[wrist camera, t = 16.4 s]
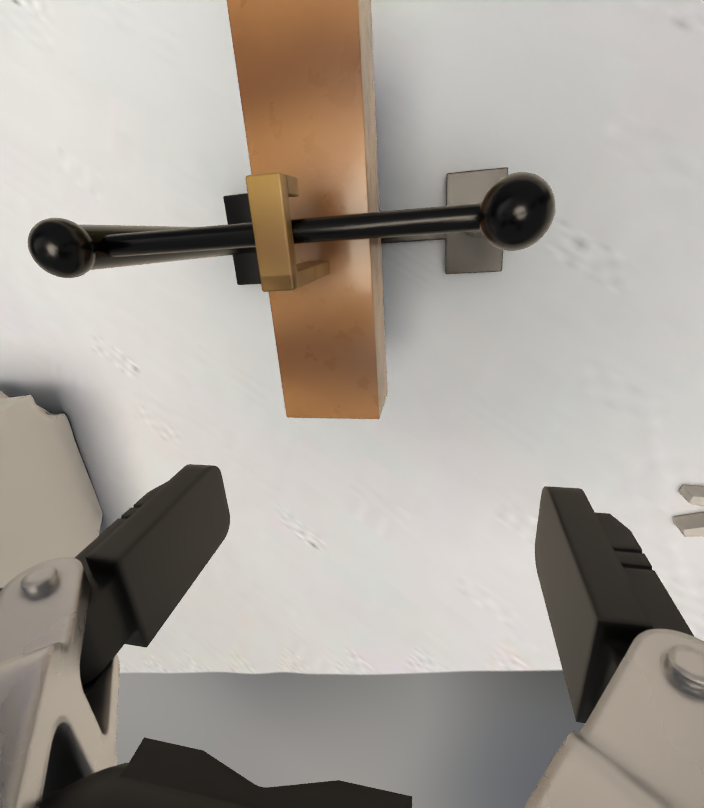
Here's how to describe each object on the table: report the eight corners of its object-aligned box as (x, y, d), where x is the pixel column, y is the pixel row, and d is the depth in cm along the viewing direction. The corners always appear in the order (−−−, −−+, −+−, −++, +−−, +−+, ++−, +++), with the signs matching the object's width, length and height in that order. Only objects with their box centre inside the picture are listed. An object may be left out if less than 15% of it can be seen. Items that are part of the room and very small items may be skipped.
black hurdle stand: (229, 197, 30) (-40, 152, 13) (505, 169, 26) (617, 58, 9) (242, 283, 32) (26, 339, 15) (500, 270, 28) (582, 325, 12)
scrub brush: (275, 35, 20) (129, -130, 11) (377, 16, 19) (314, -183, 10) (314, 382, 27) (246, 468, 18) (391, 382, 26) (362, 473, 17)
